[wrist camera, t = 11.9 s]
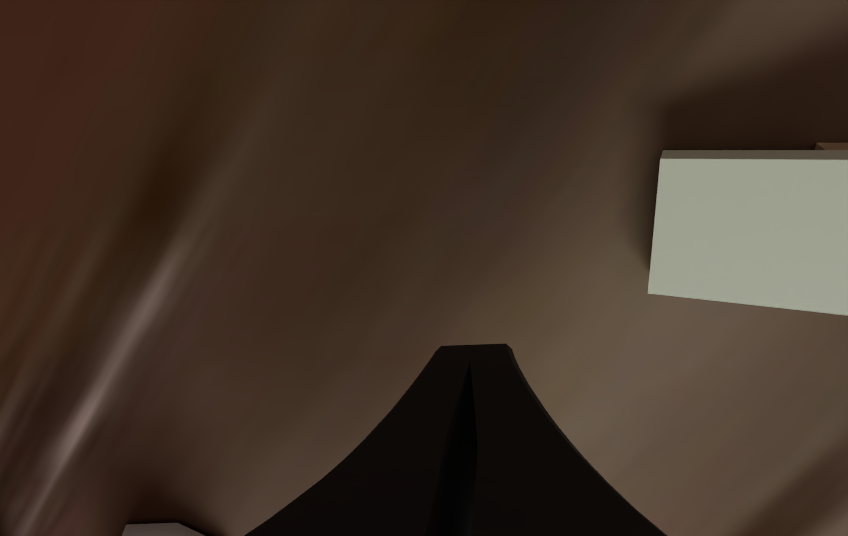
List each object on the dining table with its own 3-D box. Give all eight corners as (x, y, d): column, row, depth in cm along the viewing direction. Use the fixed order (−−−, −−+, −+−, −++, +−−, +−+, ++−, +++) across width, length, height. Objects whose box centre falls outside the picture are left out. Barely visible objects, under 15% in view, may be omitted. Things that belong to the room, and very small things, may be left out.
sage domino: (663, 150, 17) (955, 149, 14) (651, 276, 18) (910, 301, 15) (659, 158, 15) (980, 160, 12) (648, 293, 17) (928, 324, 14)
